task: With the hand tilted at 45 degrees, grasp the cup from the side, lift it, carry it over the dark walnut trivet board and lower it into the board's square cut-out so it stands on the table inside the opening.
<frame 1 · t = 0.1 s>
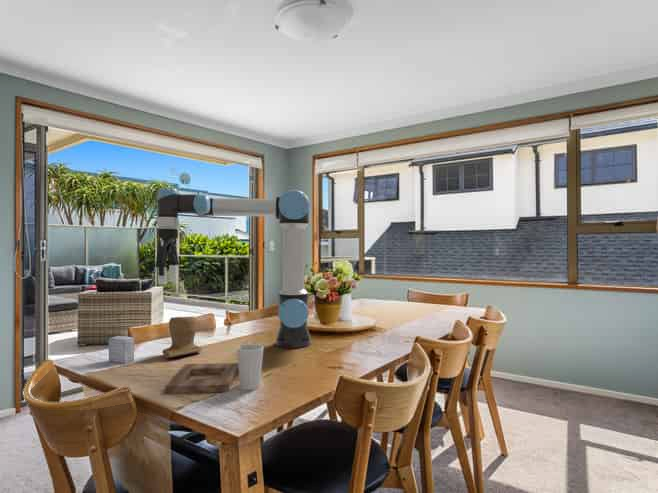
hand: (167, 282, 160), 28 cm above the table, tool pointing down, fingers open, 13 cm apart
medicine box: (121, 361, 150), on the table
cup: (250, 387, 125), on the table
board: (204, 379, 130), on the table
wooden stamp: (180, 355, 160), on the table
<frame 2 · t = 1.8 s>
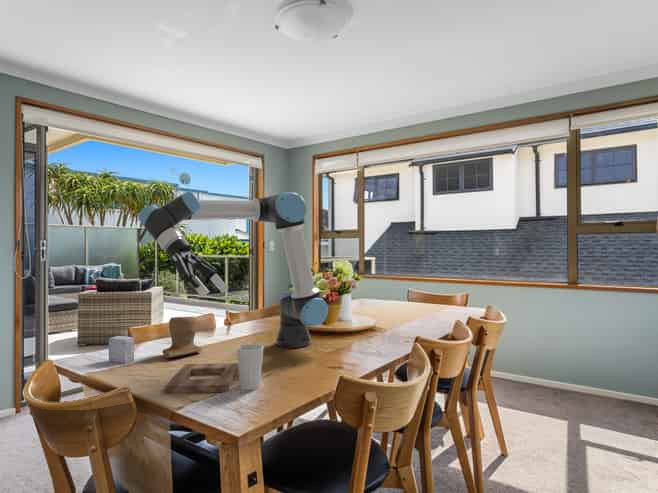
hand: (216, 292, 132), 28 cm above the table, tool tilted 45°, fingers open, 13 cm apart
nothing on the table moved.
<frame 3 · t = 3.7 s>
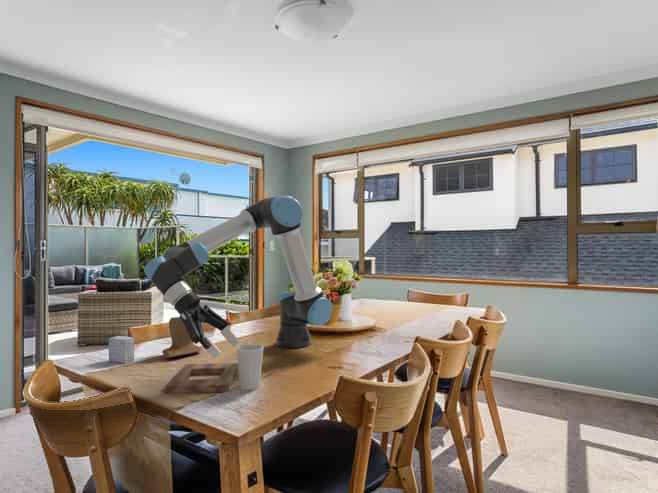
hand: (227, 349, 125), 11 cm above the table, tool tilted 45°, fingers open, 13 cm apart
nothing on the table moved.
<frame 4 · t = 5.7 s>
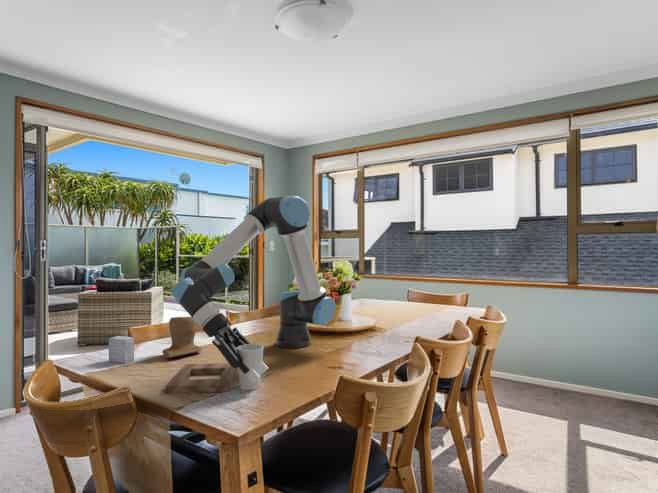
hand: (260, 375, 124), 4 cm above the table, tool tilted 45°, fingers closed on cup, 7 cm apart
cup: (250, 387, 125), on the table, touching gripper
everything else where it was.
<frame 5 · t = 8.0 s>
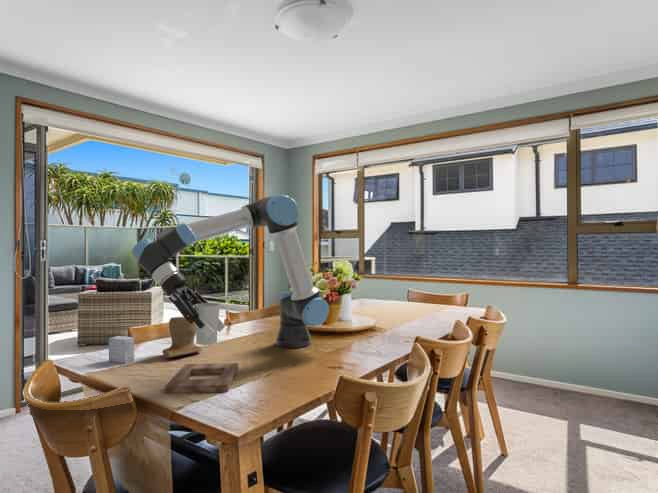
hand: (216, 331, 129), 16 cm above the table, tool tilted 45°, fingers closed on cup, 7 cm apart
cup: (206, 343, 130), point 12 cm above the table, touching gripper
everything else where it was.
when the fingers open (4 cm above the table, at t = 10.5 s): cup moves 1 cm, resting in board.
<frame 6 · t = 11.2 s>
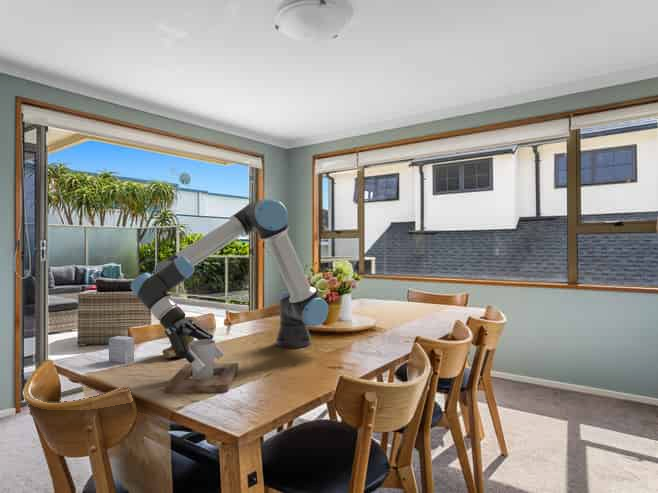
hand: (211, 362, 130), 6 cm above the table, tool tilted 45°, fingers open, 13 cm apart
cup: (203, 380, 130), resting in board
everything else where it was.
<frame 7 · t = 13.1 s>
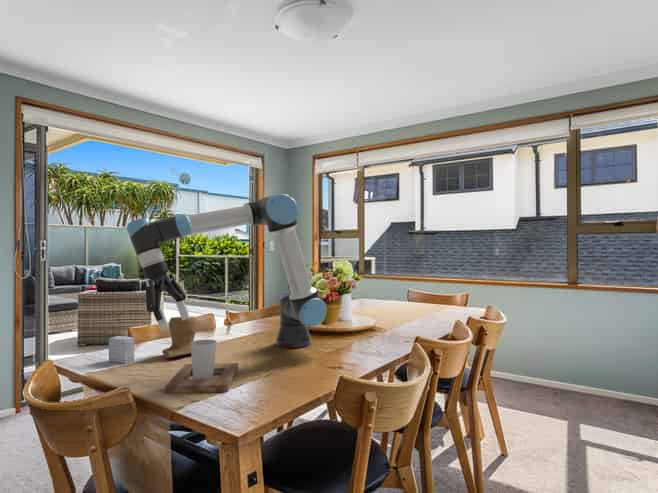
hand: (176, 324, 136), 17 cm above the table, tool tilted 20°, fingers open, 13 cm apart
nothing on the table moved.
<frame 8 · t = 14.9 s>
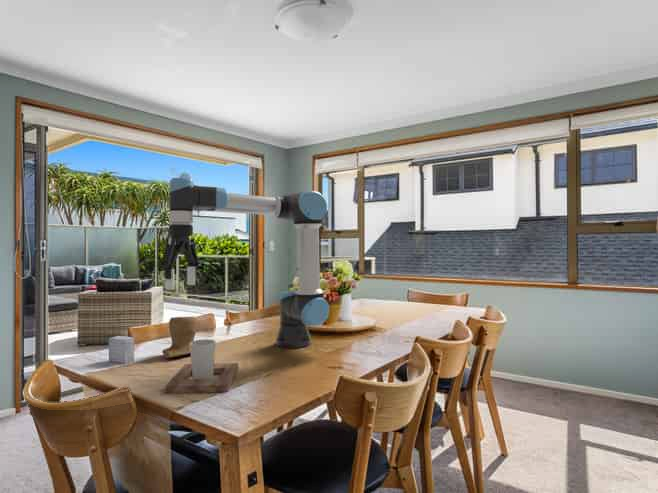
hand: (180, 287, 138), 29 cm above the table, tool pointing down, fingers open, 13 cm apart
nothing on the table moved.
at the end: cup 0.6 cm off-centre on the board, point 0.0 cm above the board's base; cup touching table; cup tilted 1° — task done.
